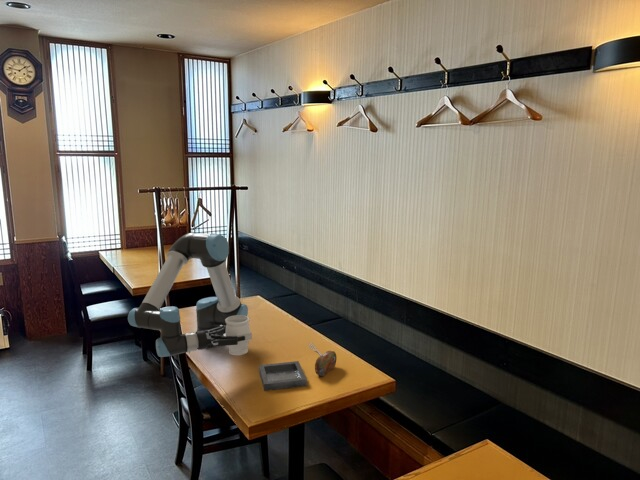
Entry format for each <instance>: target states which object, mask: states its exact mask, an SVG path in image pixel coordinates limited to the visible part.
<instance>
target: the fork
mask: <svg viewBox="0 0 640 480" xmlns="http://www.w3.org/2000/svg"><path fill="white" fill-rule="evenodd" d="M307 345H308V347H309V349H310V350H315V352H317V353H318V354H319V355H320V356H321V355H323V354H322V353H321V352H320V351H319V350H317V347H316V346H315V345H314V343H313V342H309V343H307ZM320 356H319V357H320Z"/></svg>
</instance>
